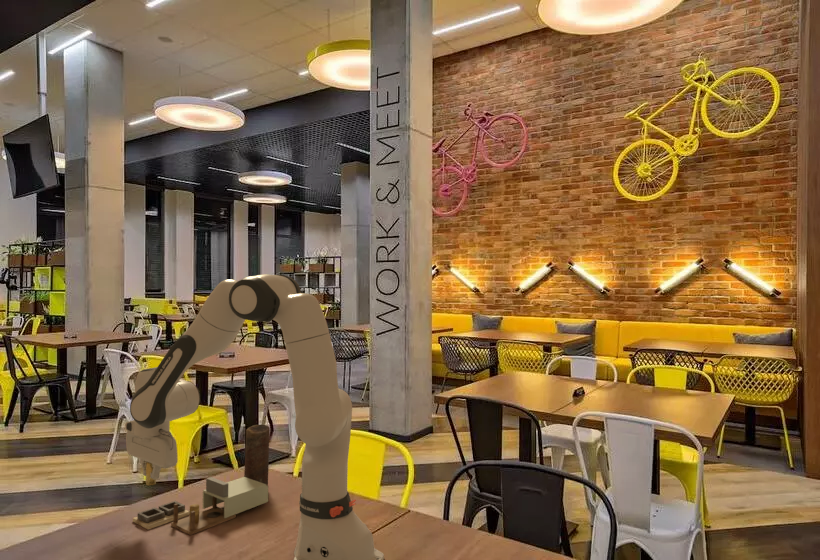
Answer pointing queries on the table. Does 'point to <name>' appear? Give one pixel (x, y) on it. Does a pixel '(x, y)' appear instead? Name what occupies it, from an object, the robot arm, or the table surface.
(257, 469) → the brown wooden log
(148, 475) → the pin
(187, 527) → the base
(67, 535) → the table surface
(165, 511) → the tan socket tray
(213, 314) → the robot arm
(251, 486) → the lid
